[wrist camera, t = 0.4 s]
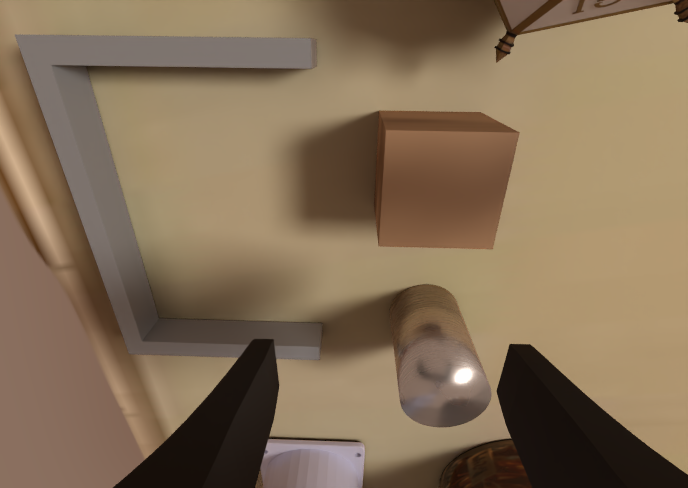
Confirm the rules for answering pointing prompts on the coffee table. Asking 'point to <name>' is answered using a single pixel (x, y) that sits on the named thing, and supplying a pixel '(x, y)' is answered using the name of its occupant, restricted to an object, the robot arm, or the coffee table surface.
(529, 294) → the coffee table surface
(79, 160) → the parts pen
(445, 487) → the jar
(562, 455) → the robot arm
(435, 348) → the silver cylinder
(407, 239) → the walnut block
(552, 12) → the game die
